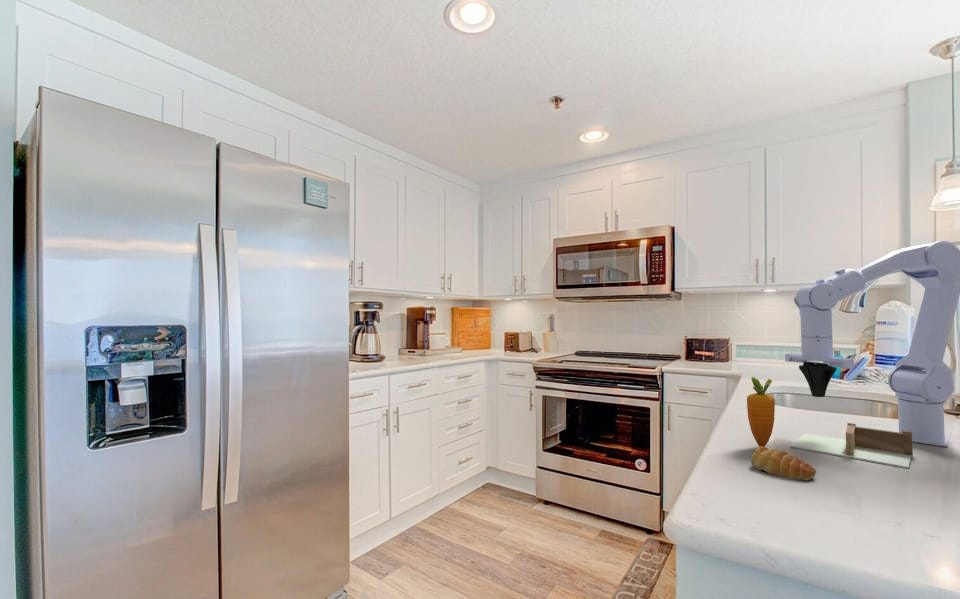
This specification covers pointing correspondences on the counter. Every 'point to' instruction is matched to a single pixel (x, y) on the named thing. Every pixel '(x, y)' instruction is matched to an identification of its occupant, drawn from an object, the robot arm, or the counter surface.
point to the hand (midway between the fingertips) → (818, 396)
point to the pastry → (781, 464)
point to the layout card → (860, 453)
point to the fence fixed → (884, 440)
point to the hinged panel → (850, 439)
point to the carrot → (761, 412)
